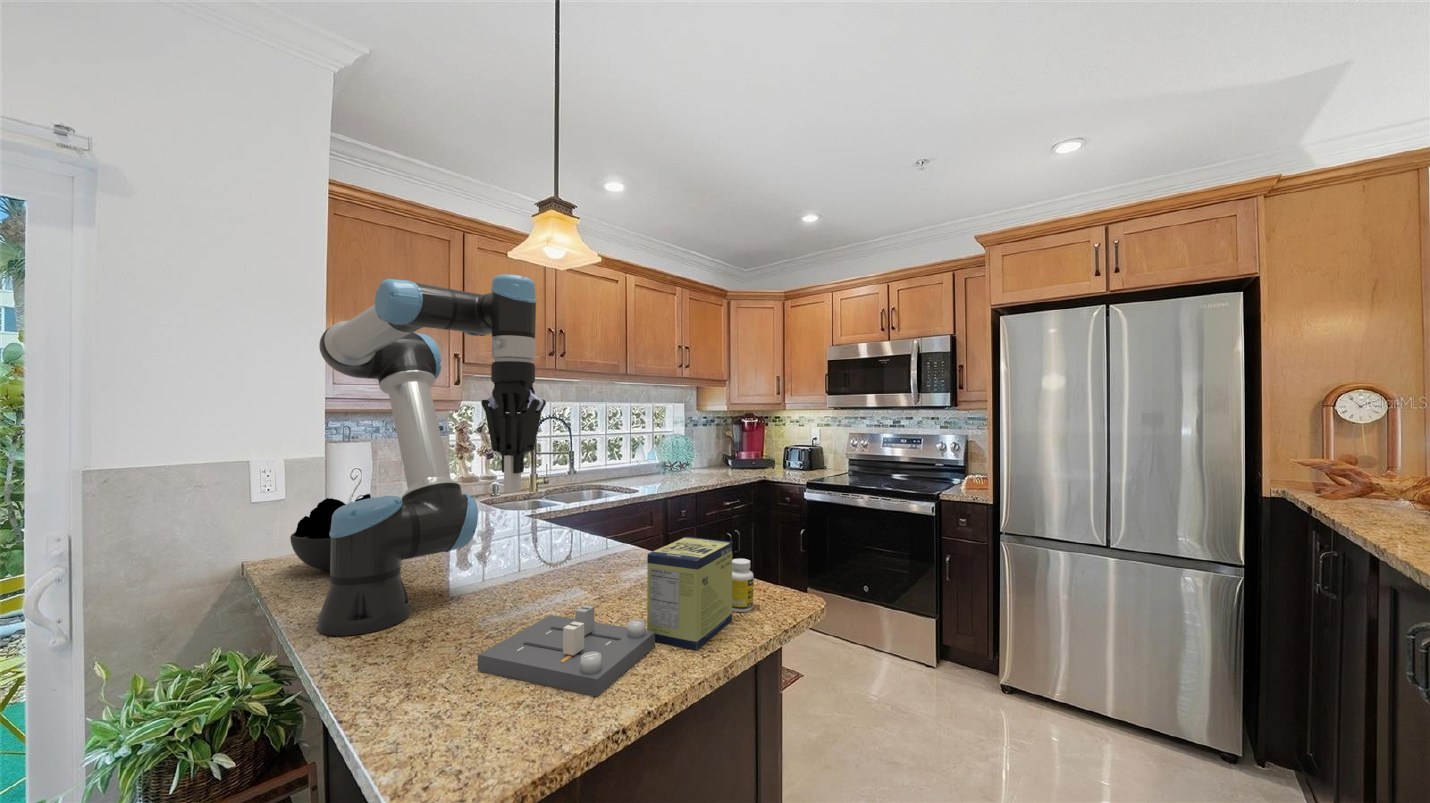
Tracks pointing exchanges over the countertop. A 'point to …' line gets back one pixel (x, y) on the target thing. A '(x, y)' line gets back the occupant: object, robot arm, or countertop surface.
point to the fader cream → (573, 638)
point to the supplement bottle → (742, 586)
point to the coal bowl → (317, 534)
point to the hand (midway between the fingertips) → (512, 490)
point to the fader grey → (585, 618)
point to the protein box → (689, 591)
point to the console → (585, 672)
